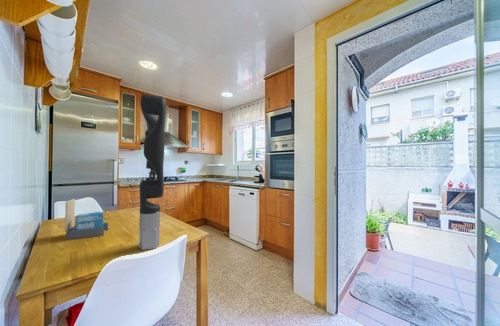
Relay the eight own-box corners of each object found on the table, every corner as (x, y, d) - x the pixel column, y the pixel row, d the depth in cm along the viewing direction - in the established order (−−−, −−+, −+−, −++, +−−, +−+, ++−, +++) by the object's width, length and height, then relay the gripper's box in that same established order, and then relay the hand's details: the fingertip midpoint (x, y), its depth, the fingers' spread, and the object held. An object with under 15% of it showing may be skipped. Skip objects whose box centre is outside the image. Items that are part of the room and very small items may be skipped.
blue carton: (75, 238, 102) (76, 216, 102) (75, 236, 105) (75, 214, 105) (103, 232, 111) (103, 212, 111) (101, 230, 114) (102, 211, 114)
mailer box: (103, 235, 106) (104, 199, 107) (64, 240, 99) (65, 201, 99) (108, 229, 115) (108, 196, 116) (72, 233, 108) (73, 198, 108)
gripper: (147, 161, 121) (145, 188, 120) (145, 160, 109) (143, 189, 108) (160, 162, 124) (158, 188, 123) (159, 160, 112) (158, 189, 111)
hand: (151, 188), depth 115 cm, fingers closed
